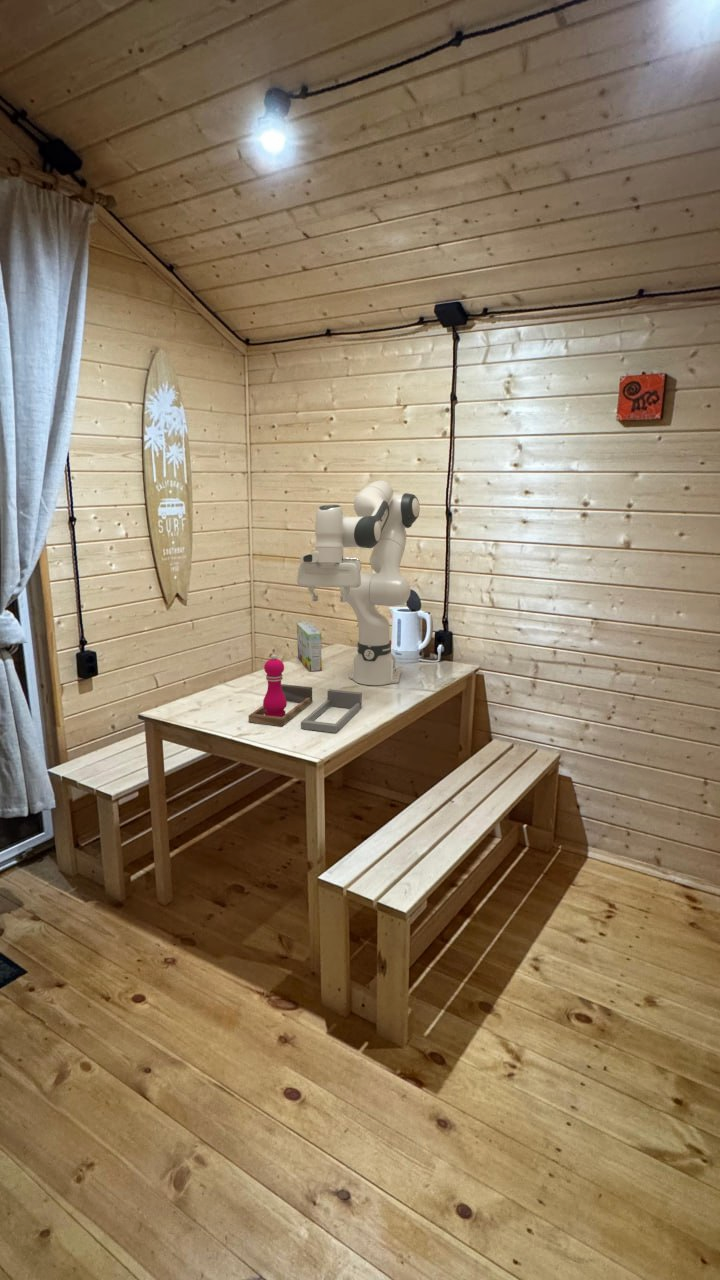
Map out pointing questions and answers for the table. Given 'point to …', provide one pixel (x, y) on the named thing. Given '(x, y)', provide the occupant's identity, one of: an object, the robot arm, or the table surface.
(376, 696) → the table surface
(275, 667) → the pepper mill
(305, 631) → the snack box
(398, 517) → the robot arm
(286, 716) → the brown wooden rectangular frame
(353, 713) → the grey open rectangular frame
